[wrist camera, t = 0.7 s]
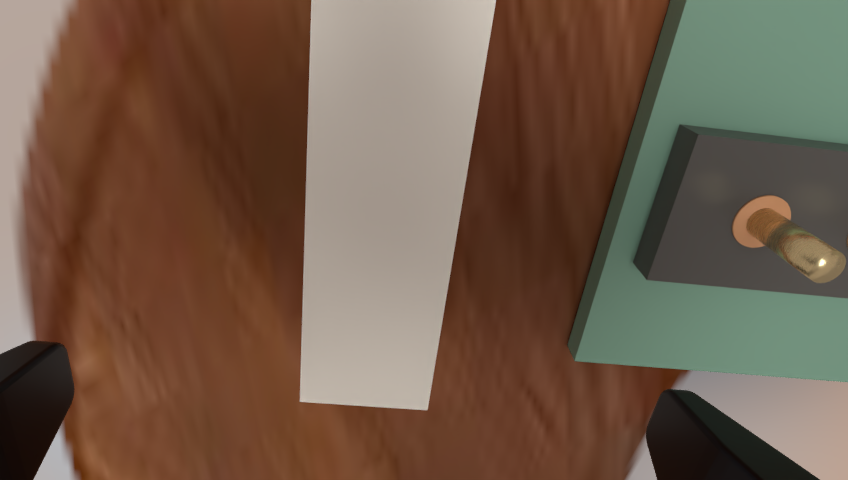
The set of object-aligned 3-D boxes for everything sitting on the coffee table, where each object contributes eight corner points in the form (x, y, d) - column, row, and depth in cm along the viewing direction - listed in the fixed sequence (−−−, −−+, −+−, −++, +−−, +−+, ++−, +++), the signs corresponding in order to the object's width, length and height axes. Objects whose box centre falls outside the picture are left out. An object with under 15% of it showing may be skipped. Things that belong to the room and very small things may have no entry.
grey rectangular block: (478, -54, 15) (506, -64, 11) (422, 325, 21) (427, 410, 17) (338, -74, 15) (314, -92, 11) (320, 316, 21) (299, 401, 17)
